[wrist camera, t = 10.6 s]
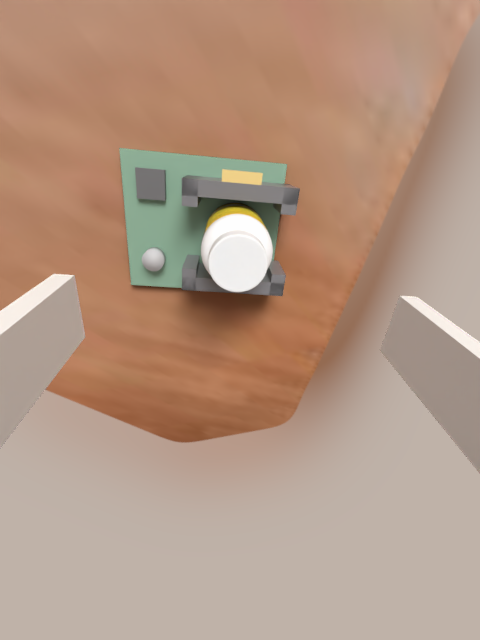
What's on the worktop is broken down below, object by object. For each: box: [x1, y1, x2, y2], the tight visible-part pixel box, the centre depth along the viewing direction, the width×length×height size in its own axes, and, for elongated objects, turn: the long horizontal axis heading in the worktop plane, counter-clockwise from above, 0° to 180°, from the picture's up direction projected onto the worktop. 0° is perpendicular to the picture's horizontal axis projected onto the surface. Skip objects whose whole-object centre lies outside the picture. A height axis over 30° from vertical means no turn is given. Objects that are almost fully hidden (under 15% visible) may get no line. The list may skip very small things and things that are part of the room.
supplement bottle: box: [201, 202, 273, 292], centre depth 24 cm, size 5×5×10 cm
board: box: [119, 148, 287, 288], centre depth 28 cm, size 14×12×2 cm
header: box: [182, 169, 300, 296], centre depth 27 cm, size 9×10×4 cm
